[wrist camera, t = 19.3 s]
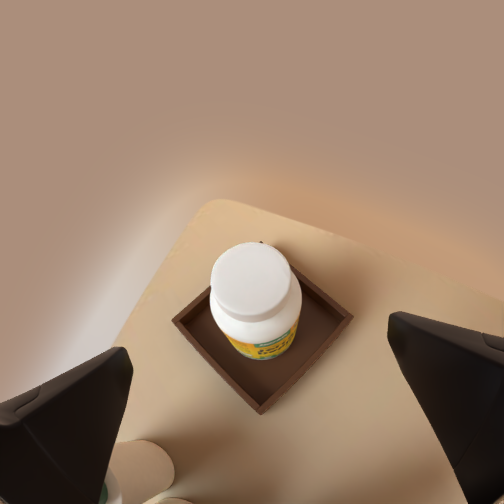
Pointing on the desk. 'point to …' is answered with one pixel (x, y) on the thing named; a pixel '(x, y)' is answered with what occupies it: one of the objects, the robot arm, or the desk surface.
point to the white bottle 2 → (173, 501)
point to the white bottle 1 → (136, 473)
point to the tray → (271, 370)
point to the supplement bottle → (255, 299)
